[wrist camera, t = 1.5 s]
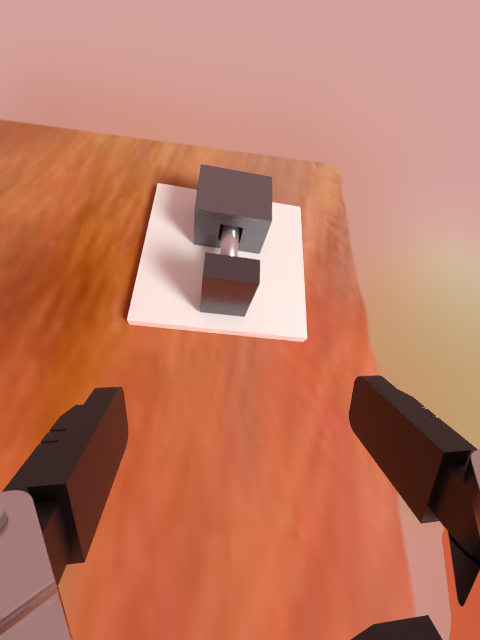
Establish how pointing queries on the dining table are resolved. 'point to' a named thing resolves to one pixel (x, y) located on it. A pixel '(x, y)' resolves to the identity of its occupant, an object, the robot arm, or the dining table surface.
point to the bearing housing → (232, 207)
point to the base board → (187, 270)
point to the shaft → (229, 278)
